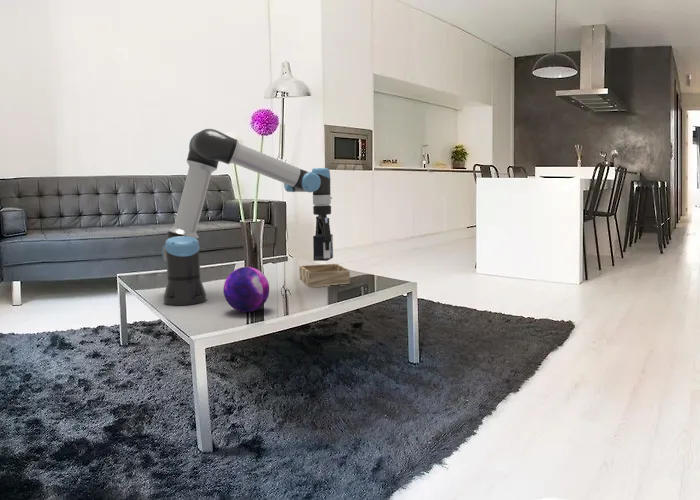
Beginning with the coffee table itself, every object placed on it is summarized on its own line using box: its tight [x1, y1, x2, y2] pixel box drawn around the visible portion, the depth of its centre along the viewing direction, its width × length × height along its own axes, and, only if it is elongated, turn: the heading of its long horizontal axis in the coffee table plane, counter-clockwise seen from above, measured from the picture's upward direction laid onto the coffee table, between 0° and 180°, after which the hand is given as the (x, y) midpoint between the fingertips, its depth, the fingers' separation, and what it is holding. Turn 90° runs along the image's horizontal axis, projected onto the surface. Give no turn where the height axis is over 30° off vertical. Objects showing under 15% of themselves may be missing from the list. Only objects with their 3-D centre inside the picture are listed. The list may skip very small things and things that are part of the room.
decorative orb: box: [223, 266, 270, 313], centre depth 191 cm, size 15×15×15 cm
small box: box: [312, 233, 334, 262], centre depth 243 cm, size 11×6×10 cm, turn 169°
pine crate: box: [298, 263, 351, 289], centre depth 244 cm, size 21×17×6 cm
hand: (323, 256), depth 243 cm, fingers closed on small box, 12 cm apart
